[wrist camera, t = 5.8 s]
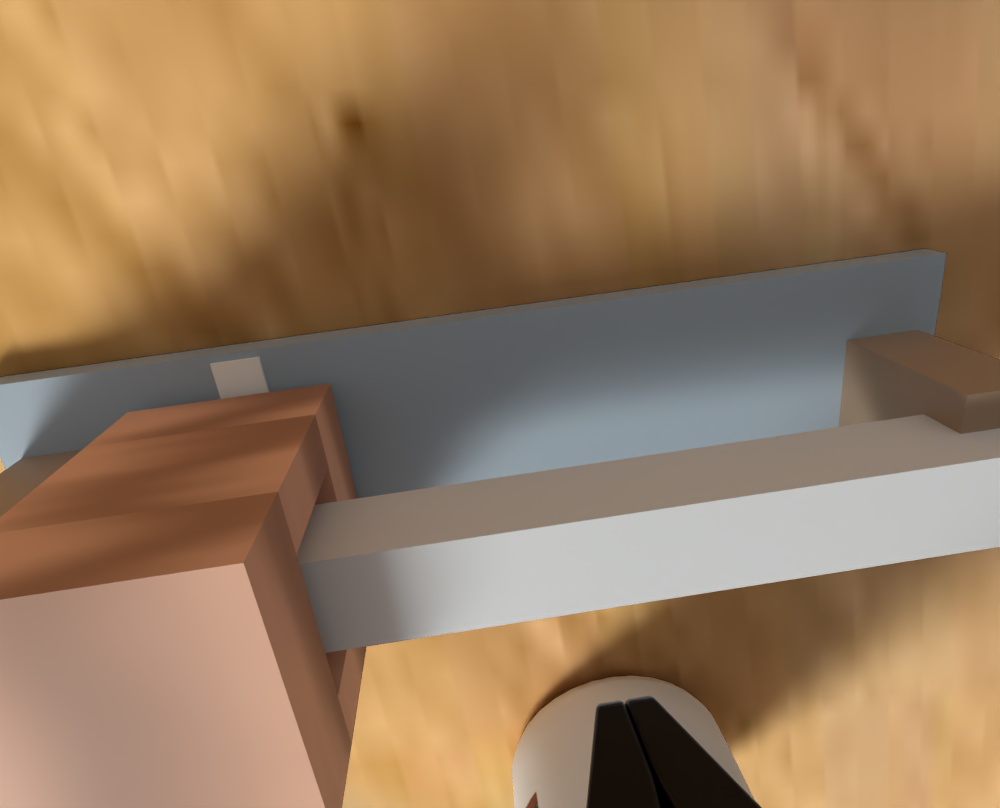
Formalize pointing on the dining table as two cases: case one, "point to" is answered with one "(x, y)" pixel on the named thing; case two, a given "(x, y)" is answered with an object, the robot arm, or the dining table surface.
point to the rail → (598, 443)
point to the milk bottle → (569, 735)
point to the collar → (177, 616)
